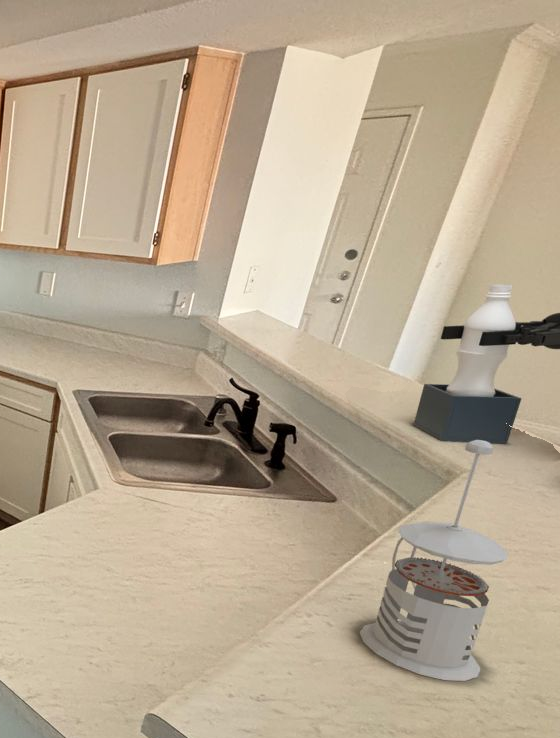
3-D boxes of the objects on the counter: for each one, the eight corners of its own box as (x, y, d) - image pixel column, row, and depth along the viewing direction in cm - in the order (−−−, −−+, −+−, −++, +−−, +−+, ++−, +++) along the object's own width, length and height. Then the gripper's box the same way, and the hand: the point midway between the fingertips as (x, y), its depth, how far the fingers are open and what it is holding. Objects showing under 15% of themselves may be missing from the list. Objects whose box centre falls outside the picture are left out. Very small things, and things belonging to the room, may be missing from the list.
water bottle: (447, 406, 124) (481, 286, 117) (439, 398, 130) (471, 283, 122) (495, 410, 120) (534, 286, 113) (485, 401, 126) (521, 283, 118)
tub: (473, 428, 130) (486, 385, 127) (507, 443, 121) (521, 398, 118) (413, 425, 134) (424, 383, 131) (441, 440, 124) (453, 396, 121)
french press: (385, 671, 63) (448, 454, 55) (337, 608, 73) (384, 418, 65) (505, 689, 60) (589, 461, 52) (437, 620, 70) (499, 422, 62)
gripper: (631, 357, 112) (510, 363, 112) (515, 340, 131) (412, 345, 131) (645, 318, 110) (522, 324, 110) (526, 306, 129) (421, 311, 129)
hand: (462, 335), depth 121 cm, fingers closed on water bottle, 7 cm apart
